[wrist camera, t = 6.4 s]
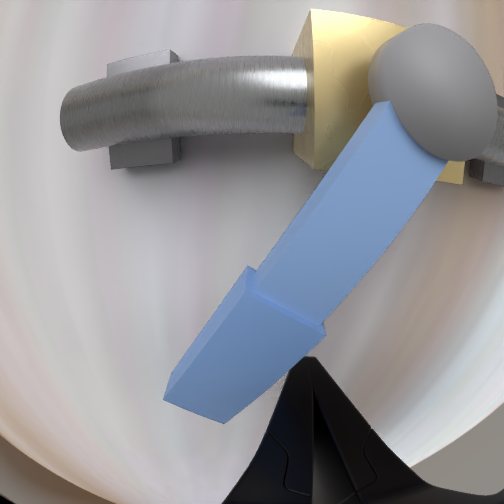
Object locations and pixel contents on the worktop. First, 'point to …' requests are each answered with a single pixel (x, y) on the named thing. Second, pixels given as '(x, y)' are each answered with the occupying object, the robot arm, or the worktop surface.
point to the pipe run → (248, 100)
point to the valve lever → (343, 219)
